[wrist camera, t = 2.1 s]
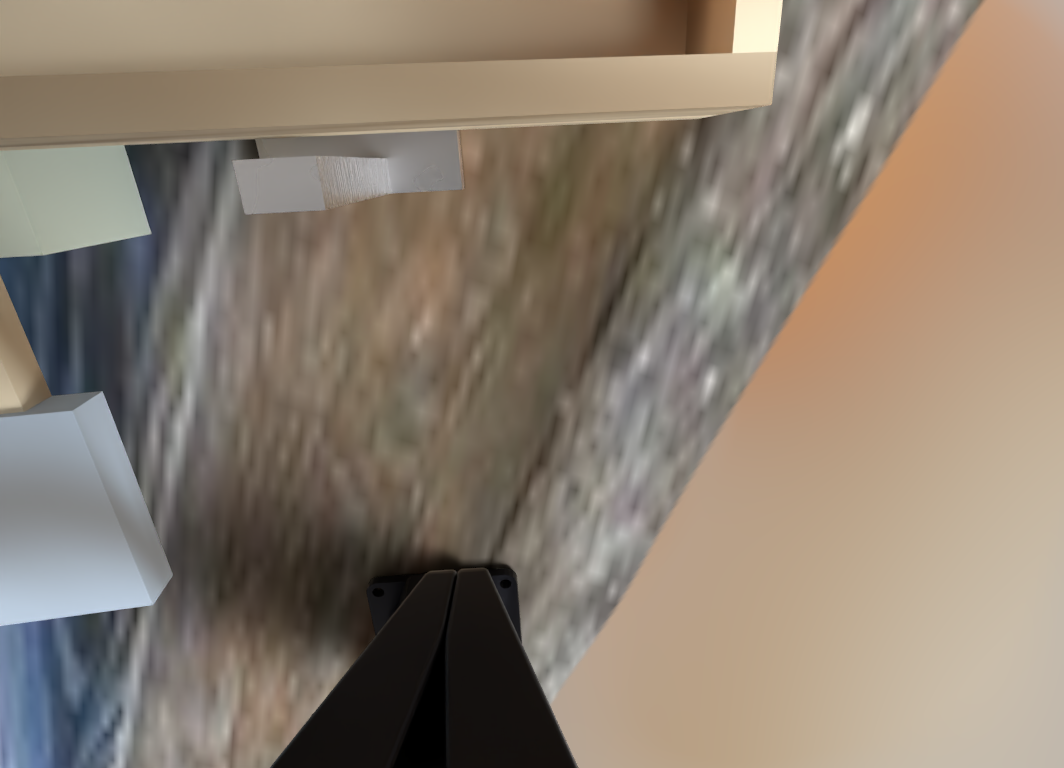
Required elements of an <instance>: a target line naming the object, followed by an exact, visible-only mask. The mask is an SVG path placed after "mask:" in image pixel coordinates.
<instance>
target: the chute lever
mask: <svg viewBox="0 0 1064 768" xmlns="http://www.w3.org/2000/svg"><path fill="white" fill-rule="evenodd" d="M782 2H783V0H0V151H8V150H30V149H51V148H73V147H95V146H117V145H138V144H160V143H182V142H203V141H225V140H247V139H269V138H290V137H312V136H334V135H355V134H377V133H399V132H421V131H442V130H464V129H486V128H508V127H529V126H551V125H573V124H594V123H616V122H638V121H660V120H681V119H700V118H705V117H710V116H715V115H720V114H726V113H731V112H736V111H741V110H747V109H752V108H757V107H762V106H768V105H772V96H773V86H774V77H775V68H776V58H777V49H778V40H779V30H780V21H781V12H782ZM172 576H173V573H172V571H171V568H170V566H169V563H168V560H167V558H166V555H165V553H164V550H163V547H162V545H161V542H160V540H159V537H158V534H157V532H156V529H155V527H154V524H153V521H152V519H151V516H150V514H149V511H148V508H147V506H146V503H145V501H144V498H143V495H142V493H141V490H140V488H139V485H138V482H137V480H136V477H135V475H134V472H133V469H132V467H131V464H130V462H129V459H128V456H127V454H126V451H125V449H124V446H123V443H122V441H121V438H120V435H119V433H118V430H117V428H116V425H115V422H114V420H113V417H112V415H111V412H110V409H109V407H108V404H107V402H106V399H105V396H104V394H103V391H100V392H89V393H79V394H68V395H57V396H51V393H50V391H49V389H48V386H47V384H46V381H45V379H44V377H43V374H42V372H41V370H40V367H39V365H38V363H37V360H36V358H35V356H34V353H33V351H32V349H31V346H30V344H29V341H28V339H27V337H26V334H25V332H24V330H23V327H22V325H21V323H20V320H19V318H18V316H17V313H16V311H15V309H14V306H13V304H12V302H11V299H10V297H9V294H8V292H7V290H6V287H5V285H4V283H3V280H2V278H1V276H0V626H3V625H11V624H18V623H25V622H33V621H40V620H47V619H55V618H62V617H69V616H76V615H84V614H91V613H98V612H106V611H113V610H120V609H128V608H135V607H142V606H150V605H153V604H154V603H155V601H156V600H157V598H158V597H159V595H160V594H161V592H162V591H163V589H164V588H165V587H166V585H167V584H168V582H169V581H170V579H171V578H172Z"/></svg>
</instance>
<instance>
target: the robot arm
mask: <svg viewBox="0 0 1064 768" xmlns="http://www.w3.org/2000/svg"><path fill="white" fill-rule="evenodd" d="M505 579H506V580H509V581H508V582H503V581H502V580H505ZM376 588H381V589H383V590H377V589H376ZM367 597H368V602H369V607H370V611H371V616H372V621H373V625H374V630H375V635H376V636H375V637H374V639H373V640H372V641H371V642H370V644H369V645H368V646H367V647H366V649H365V650H364V651H363V652H362V654H361V655H360V656H359V657H358V659H357V660H356V661H355V662H354V664H353V665H352V666H351V667H350V669H349V670H348V671H347V672H346V674H345V675H344V676H343V677H342V679H341V680H340V681H339V682H338V684H337V685H336V686H335V687H334V689H333V690H332V691H331V692H330V694H329V695H328V696H327V697H326V699H325V700H324V701H323V702H322V704H321V705H320V706H319V707H318V709H317V710H316V711H315V712H314V713H313V714H312V716H311V717H310V719H309V720H308V721H307V722H306V724H305V725H304V726H303V727H302V728H301V730H300V731H299V732H298V733H297V735H296V736H295V737H294V738H293V740H292V741H291V742H290V743H289V745H288V746H287V747H286V748H285V750H284V751H283V752H282V753H281V755H280V756H279V757H278V758H277V760H276V761H275V762H274V763H273V765H272V766H271V767H270V768H578V766H577V764H576V762H575V759H574V757H573V755H572V753H571V751H570V748H569V746H568V744H567V742H566V740H565V737H564V735H563V733H562V731H561V729H560V727H559V724H558V722H557V720H556V718H555V716H554V713H553V711H552V709H551V707H550V705H549V702H548V700H547V698H546V696H545V694H544V691H543V689H542V687H541V685H540V683H539V681H538V678H537V676H536V674H535V672H534V670H533V667H532V665H531V663H530V661H529V659H528V656H527V654H526V652H525V650H524V648H523V646H522V637H521V623H520V610H519V597H518V584H517V575H516V573H515V572H514V571H513V570H511V569H505V568H504V569H489V570H487V569H486V568H469V569H461V570H459V571H458V572H456V571H455V570H438V571H430V572H428V573H426V574H413V575H398V576H383V577H375V578H373V579H372V580H371V581H370V582H369V585H368V588H367Z"/></svg>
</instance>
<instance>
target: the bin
mask: <svg viewBox="0 0 1064 768" xmlns="http://www.w3.org/2000/svg"><path fill="white" fill-rule="evenodd" d="M149 234H151V230H150V227H149V224H148V221H147V218H146V214H145V211H144V208H143V205H142V201H141V198H140V195H139V192H138V188H137V185H136V182H135V179H134V175H133V172H132V169H131V166H130V163H129V159H128V156H127V153H126V150H125V146H124V145H117V146H95V147H73V148H51V149H30V150H8V151H0V258H4V257H22V256H40V255H47V254H52V253H57V252H63V251H68V250H73V249H78V248H83V247H88V246H93V245H98V244H103V243H108V242H113V241H118V240H123V239H128V238H133V237H138V236H144V235H149Z"/></svg>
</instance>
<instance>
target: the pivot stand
mask: <svg viewBox="0 0 1064 768" xmlns="http://www.w3.org/2000/svg"><path fill="white" fill-rule="evenodd" d="M255 140H256V145H257V149H258V154H259V158H260V159H247V160H232V163H233V167H234V171H235V175H236V179H237V183H238V187H239V192H240V196H241V200H242V204H243V208H244V212H245V214H263V213H281V212H299V211H318V210H328V209H332V208H336V207H340V206H343V205H347V204H351V203H355V202H359V201H363V200H367V199H371V198H375V197H379V196H383V195H387V194H391V193H405V192H424V191H442V190H461V189H464V188H465V186H464V175H463V165H462V154H461V143H460V132H459V130H442V131H421V132H399V133H377V134H355V135H334V136H312V137H290V138H269V139H255Z"/></svg>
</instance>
